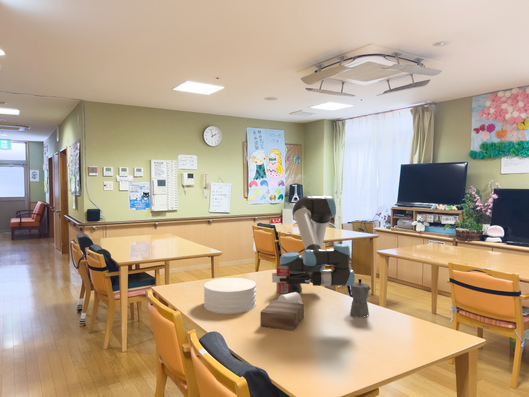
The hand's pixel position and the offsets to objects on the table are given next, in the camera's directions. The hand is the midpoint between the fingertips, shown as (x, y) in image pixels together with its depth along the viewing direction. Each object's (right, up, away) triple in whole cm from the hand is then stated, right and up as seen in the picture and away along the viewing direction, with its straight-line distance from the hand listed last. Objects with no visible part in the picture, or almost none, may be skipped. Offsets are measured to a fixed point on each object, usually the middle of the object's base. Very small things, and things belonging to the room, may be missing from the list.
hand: (272, 277), depth 182 cm
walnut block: (+5, -22, +1) cm, 22 cm away
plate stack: (-23, -21, +27) cm, 41 cm away
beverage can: (+5, -7, 0) cm, 9 cm away
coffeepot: (+44, -21, +13) cm, 50 cm away
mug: (+11, -21, +19) cm, 30 cm away
